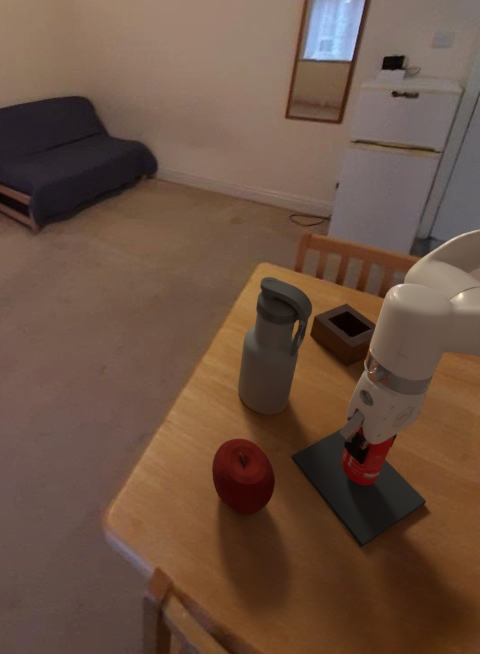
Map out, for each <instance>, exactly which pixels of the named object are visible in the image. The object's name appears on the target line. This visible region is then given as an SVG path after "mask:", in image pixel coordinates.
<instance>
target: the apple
mask: <svg viewBox="0 0 480 654" xmlns="http://www.w3.org/2000/svg"><path fill="white" fill-rule="evenodd" d="M211 474H212V482H213V486H214V489H215V492H216V494H217V496H218V498H219V499H220V500H221V502H222V503H223V504H224V505H225V506H226V507H227V508H228V509H230V510H231V511H232V512H234V513H237V514H239V515H243V516H251V515H255V514H257V513H259V512H260V511H262V510H263V509H264V508H266V506H267V505H268V503H269V502H270V501H271V499H272V497H273V494H274V492H275V484H276V477H275V471H274V468H273V465H272V463H271V460H270V459H269V457H268V455H267V454H266V452H265V451H264V450H263V448H262V447H260V446H259V445H258V444H256V443H255V442H254V441H251V440H249V439H246V438H233V439H229V440H226V441H225V442H223V443H222V444H221V445H220V446H219V447H218V448H217V450H216V452H215V454H214V457H213V459H212V467H211Z"/></svg>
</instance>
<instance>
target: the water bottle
mask: <svg viewBox="0 0 480 654" xmlns="http://www.w3.org/2000/svg"><path fill="white" fill-rule="evenodd" d="M259 286H260V292H259V293H258V295H257V299H256V300H257V301H256V306H255V310H256V311H255V313H256V317H255V324H254V325H253V326H252V327H250V328H249V329H248V330H247V331H246V333H245V335H244V338H243V344H242V352H241V358H240V359H241V360H240V368H239V373H238V375H239V376H238V383H237V391H238V395H239V397H240V399H241V400H242V402H243V403H244V405H246V407H248V408H249V409H250V410H252V411H253V412H256V413H258V414H260V415H266V416H270V415H272V416H273V415H277V414H279V413H281V412H283V411H284V410H285V409H286V407H287V406H288V402H289V399H290V394H291V389H292V384H293V381H294V376H295V371H296V367H297V362H298V359H299V358H298V357H299V350H300V347H301V346H302V344H303V341H304V339H305V336H306V331H307V328H308V323H309V319H310V317H311V315H312V312H313V304H312V302H311V299H310V298H309V297H308V295H307V294H306V293H305V292H304V291H303V290H302V289H300V288H298V287H297V286H295V285H293V284H290V283H288V282H285V281H282V280H280V279H278V278H275V277H272V276H266V277H263V278H262V279H261V280H260V285H259ZM297 321H298V326H297V331H296V332H295V334H294V336H293V333H294V328H295V324H296V323H297Z"/></svg>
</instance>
